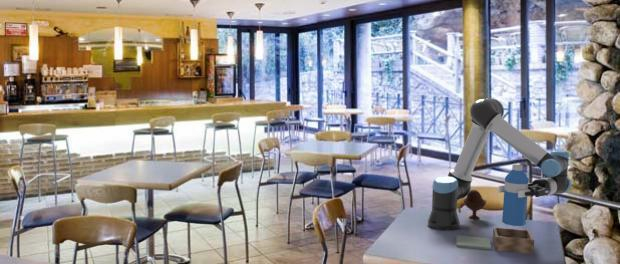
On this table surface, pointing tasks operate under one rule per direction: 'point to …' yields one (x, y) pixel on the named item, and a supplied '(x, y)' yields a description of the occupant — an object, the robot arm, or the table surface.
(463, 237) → the mat
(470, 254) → the table surface
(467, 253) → the table surface
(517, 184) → the water bottle
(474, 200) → the ice cream bowl
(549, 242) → the table surface
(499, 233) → the wooden frame
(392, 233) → the table surface
